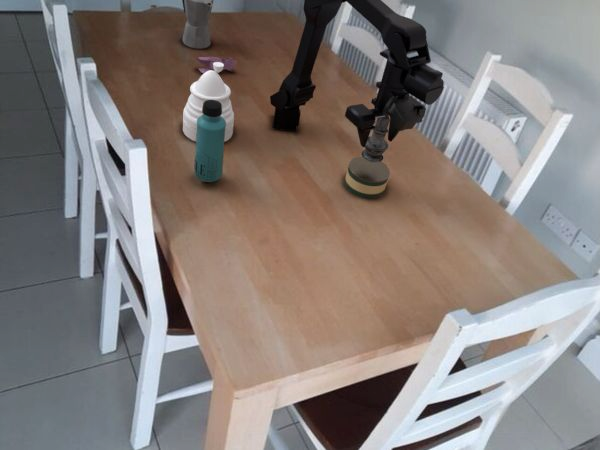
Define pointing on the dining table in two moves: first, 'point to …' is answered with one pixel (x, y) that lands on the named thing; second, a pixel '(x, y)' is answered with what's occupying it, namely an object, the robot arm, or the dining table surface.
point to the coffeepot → (197, 23)
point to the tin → (366, 178)
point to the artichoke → (210, 60)
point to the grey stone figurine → (377, 141)
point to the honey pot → (202, 91)
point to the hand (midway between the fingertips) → (376, 143)
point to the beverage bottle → (210, 142)
